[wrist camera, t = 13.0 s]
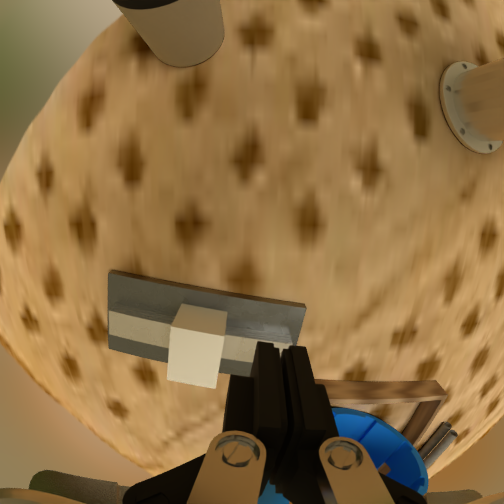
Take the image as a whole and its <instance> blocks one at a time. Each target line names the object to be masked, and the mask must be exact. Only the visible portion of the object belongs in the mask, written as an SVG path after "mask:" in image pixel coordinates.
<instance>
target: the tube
mask: <svg viewBox="0 0 504 504" xmlns="http://www.w3.org/2000/svg"><path fill="white" fill-rule="evenodd" d="M332 412H333V415H334V419H335V422H336V426H337V430H338V433H339V437H347V438H351V439H353V440H355V441H357V442H359V443H360V444H361V445H363V447H364V448H365V449H366V451H367V452H368V454H369V456H370V458H371V460H372V462H373V463H374V465H375V467H376V469H377V471H378V469H379V468H380V467H381V466H382V465H383V464H384V463H386V464H387V465H388V466H389V468H390V469H391V471H390V472H389V473H388V474H386V476H387V477H389V478H391V479H393V480H395V481H397V482H399V483H401V484H403V485H405V486H407V487H409V488H411V489H413V490H415V491H417V492H418V493H420V494H421V495H422V496H423V495H424V494H425V493H427V489H428V474H427V470H426V467H425V464H424V462H423V460H422V458H421V456H420V455H419V453H418V452H417V450H416V449H415V448H414V446H413V445H412V444H411V443H410V442H409V441H408V440H407V439H406V438H405V437H404V436H403V435H402V434H401V433H399V432H398V431H397V430H396V429H394V428H393V427H392V426H390V425H389V424H387V423H385V422H384V421H382V420H380V419H378V418H376V417H374V416H372V415H369V414H367V413H364V412H361V411H358V410H354V409H348V408H332ZM289 502H290V501H288V500H287V499H286V498H284V497H283V494H278V493H275V485H270V483H269V480H268V482H267V485H266V487H265V489H264V491H263V494H262V496H260V497H259V498H258V502H257V504H289Z"/></svg>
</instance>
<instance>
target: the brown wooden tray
mask: <svg viewBox="0 0 504 504" xmlns="http://www.w3.org/2000/svg"><path fill="white" fill-rule="evenodd" d="M314 380H315V384H323V385H325V388H326V391H327V394H328V398H329V401H330V404H390V403H409V402H421V403H420V405H419V406H418V408H417V410H416V412H415V413H414V415H413V417H412V418H411V420H410V422H409V423H408V425H407V426H406V428H405V430H404V431H403V433H402V435H403V436H404V437H405V438H406V439H407V440H408V441H409V442H410V443H411V444H412V445H413V446H414V448H415V446H416V445H417V443H418V442H419V441H420V439H421V438H422V436H423V435H424V433H425V432H426V430H427V429H428V427H429V426H430V424H431V422H432V421H433V419H434V418H435V416H436V415H437V413H438V411H439V410H440V408H441V406H442V405H443V403H444V401H445V399H446V398H447V396H448V394H447V393H446V392H445V391H444V389H443V388H442V387H441V386H440V385H439V383H438V382H437V381H411V382H362V381H336V380H319V379H314ZM390 471H391V469H390V468H389V466H388V465H387V464H386V463H384V464H383V465H382V466H381V467H380V468H379V469H378V472H380V473H382V474H384V475H386V474H388V473H389V472H390Z"/></svg>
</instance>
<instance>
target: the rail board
mask: <svg viewBox="0 0 504 504" xmlns="http://www.w3.org/2000/svg"><path fill="white" fill-rule="evenodd" d="M182 303H183V304H188V305H193V306H198V307H204V308H209V309H215V310H220V311H226V312H227V321H226V329H225V337H224V343H223V349H222V355H221V360H220V366H219V371H218V372H219V373H225V374H233V375H240V376H247V377H250V373H251V368H252V364H253V359H254V354H255V349H256V345H257V341H262V342H270V343H274V347H276V348H279V350H280V357H281V353H282V350H283V348H285V349H288V347H289V346H290V345H294V346H296V344H297V341H298V337H299V334H300V330H301V327H302V323H303V319H304V316H305V312H306V306H305V304H301V303H294V302H288V301H281V300H275V299H268V298H262V297H256V296H249V295H243V294H237V293H231V292H226V291H220V290H214V289H208V288H203V287H197V286H192V285H186V284H181V283H176V282H171V281H165V280H160V279H155V278H150V277H145V276H140V275H135V274H130V273H126V272H121V271H116V270H112V271H110V272H109V273H108V343H109V349H112V350H116V351H120V352H123V353H127V354H131V355H135V356H139V357H143V358H148V359H152V360H156V361H161V362H166V363H168V356H169V343H170V330H171V325H172V323H173V321H174V319H175V316H176V314H177V312H178V310H179V308H180V306H181V304H182Z"/></svg>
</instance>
